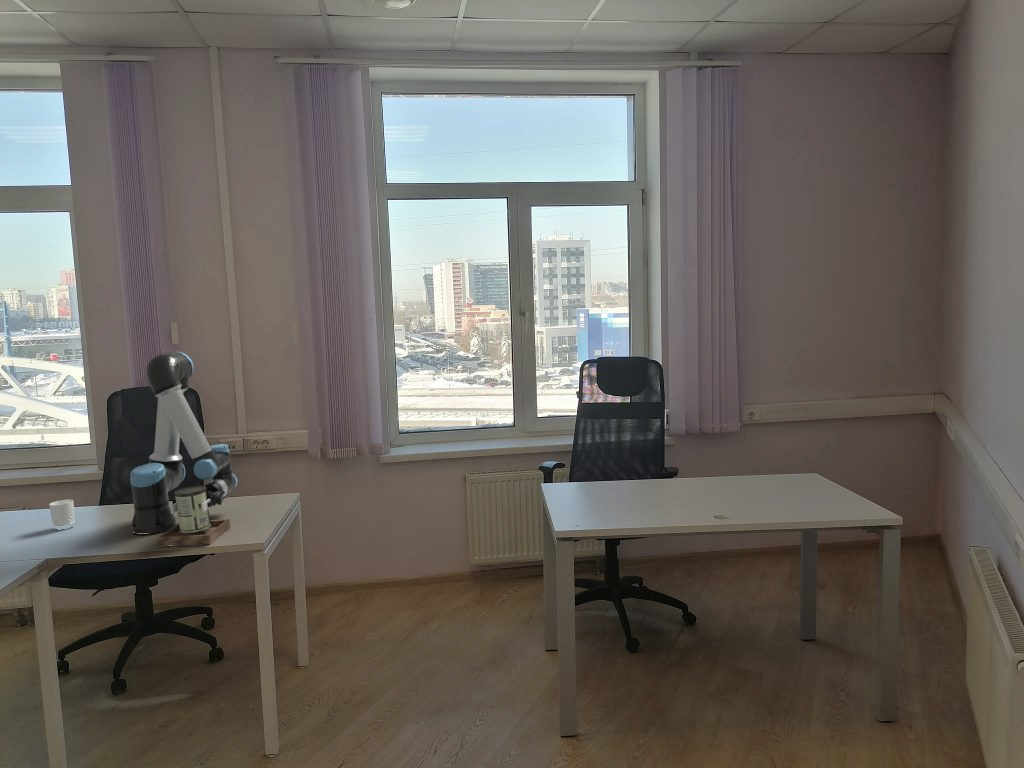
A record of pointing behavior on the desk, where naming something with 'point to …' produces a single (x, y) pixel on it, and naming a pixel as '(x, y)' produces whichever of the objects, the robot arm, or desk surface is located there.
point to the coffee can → (192, 509)
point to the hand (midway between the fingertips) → (187, 508)
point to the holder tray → (194, 534)
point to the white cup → (62, 512)
